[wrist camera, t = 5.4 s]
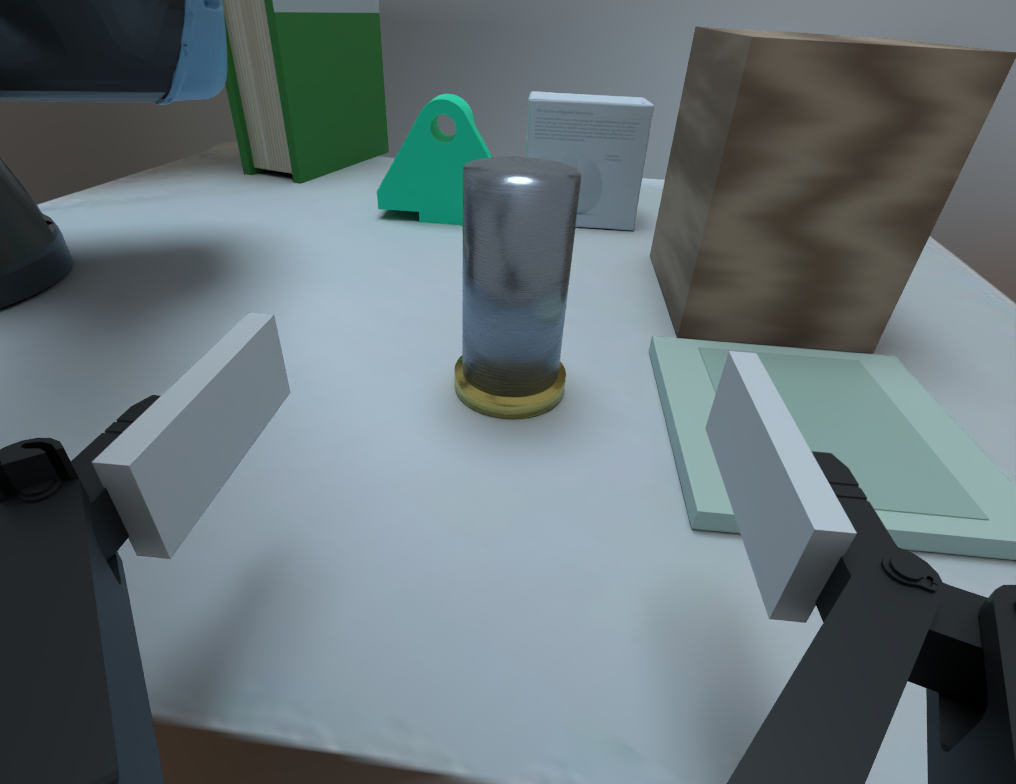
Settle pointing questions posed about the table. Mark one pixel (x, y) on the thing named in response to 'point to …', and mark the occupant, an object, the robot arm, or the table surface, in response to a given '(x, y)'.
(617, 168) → the skincare box
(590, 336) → the table surface
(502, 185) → the grey glass cylinder
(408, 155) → the camera mount
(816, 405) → the pad
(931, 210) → the block
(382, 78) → the hardback book
